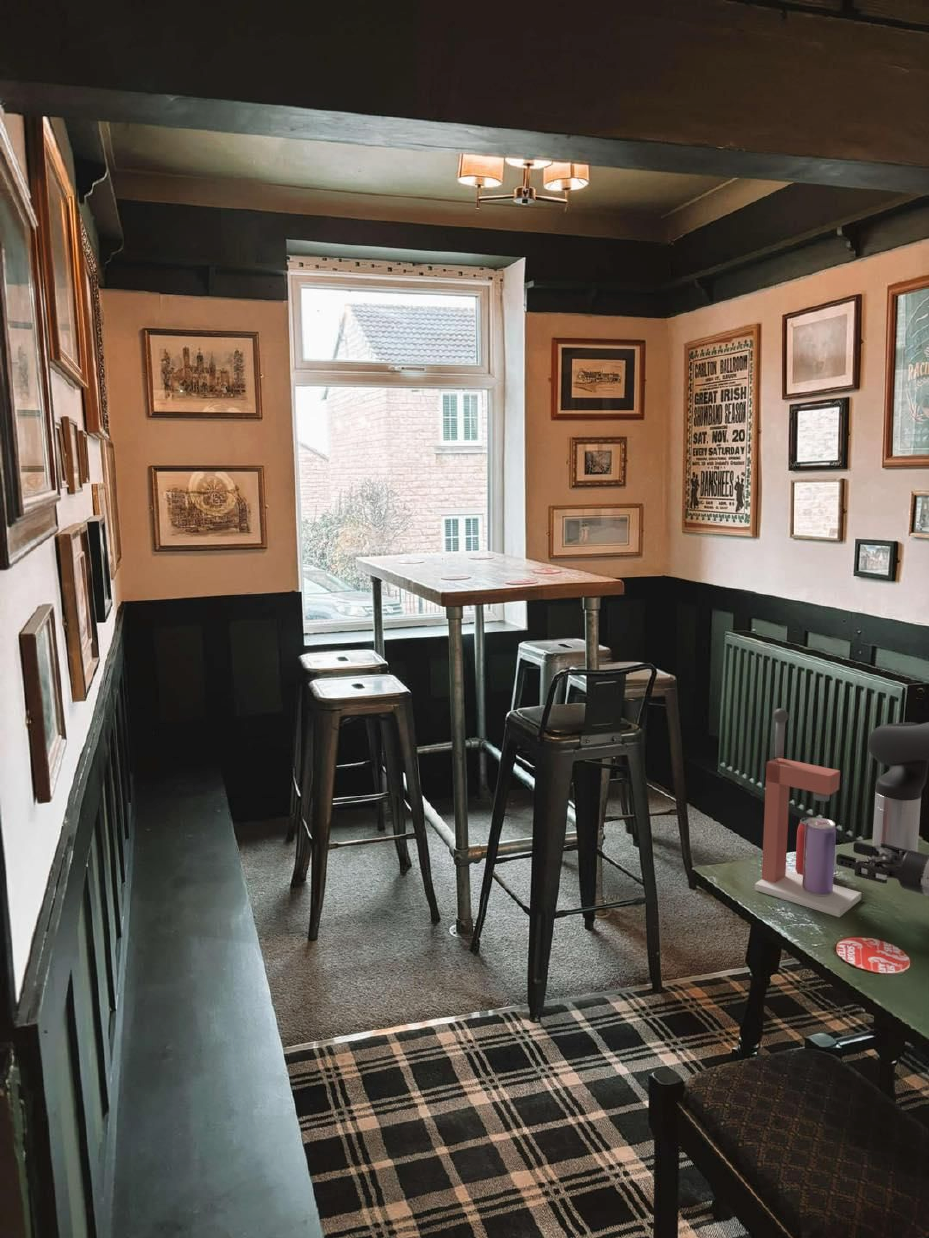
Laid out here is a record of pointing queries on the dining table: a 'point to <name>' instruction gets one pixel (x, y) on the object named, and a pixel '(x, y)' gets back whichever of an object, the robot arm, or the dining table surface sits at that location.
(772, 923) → the dining table surface
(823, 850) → the beverage can
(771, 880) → the bench press
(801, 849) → the beer can
